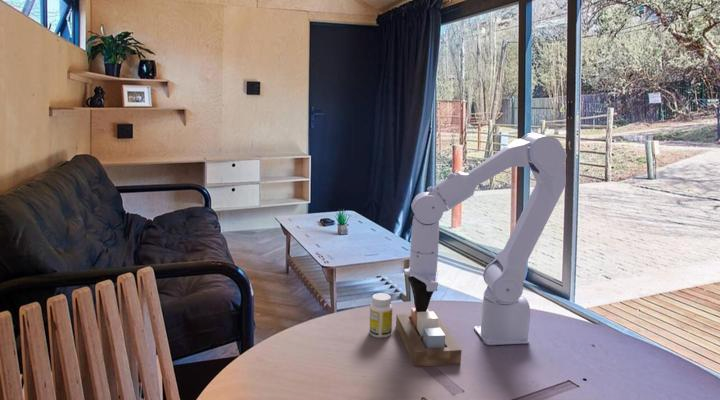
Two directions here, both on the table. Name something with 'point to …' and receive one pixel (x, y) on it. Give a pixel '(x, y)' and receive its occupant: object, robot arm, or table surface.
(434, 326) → the white key
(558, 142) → the robot arm
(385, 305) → the supplement bottle
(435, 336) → the blue key
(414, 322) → the red key
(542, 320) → the table surface
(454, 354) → the key block
